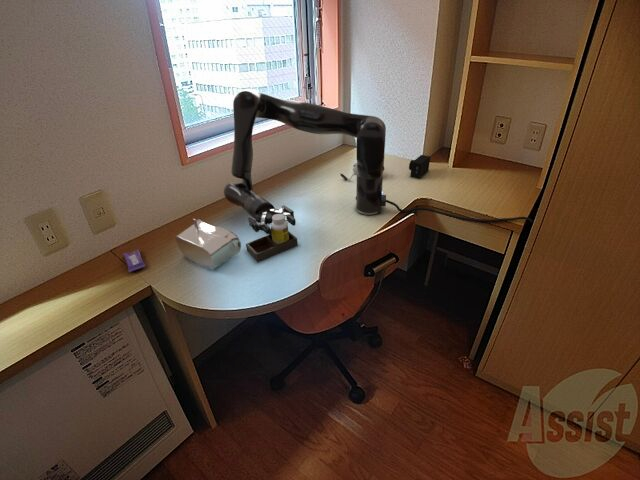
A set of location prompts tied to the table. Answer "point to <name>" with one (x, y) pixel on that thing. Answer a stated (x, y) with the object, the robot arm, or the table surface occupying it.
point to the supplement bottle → (279, 229)
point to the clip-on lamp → (353, 171)
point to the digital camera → (419, 166)
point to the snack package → (134, 260)
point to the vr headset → (208, 244)
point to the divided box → (269, 247)
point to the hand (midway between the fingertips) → (282, 227)
